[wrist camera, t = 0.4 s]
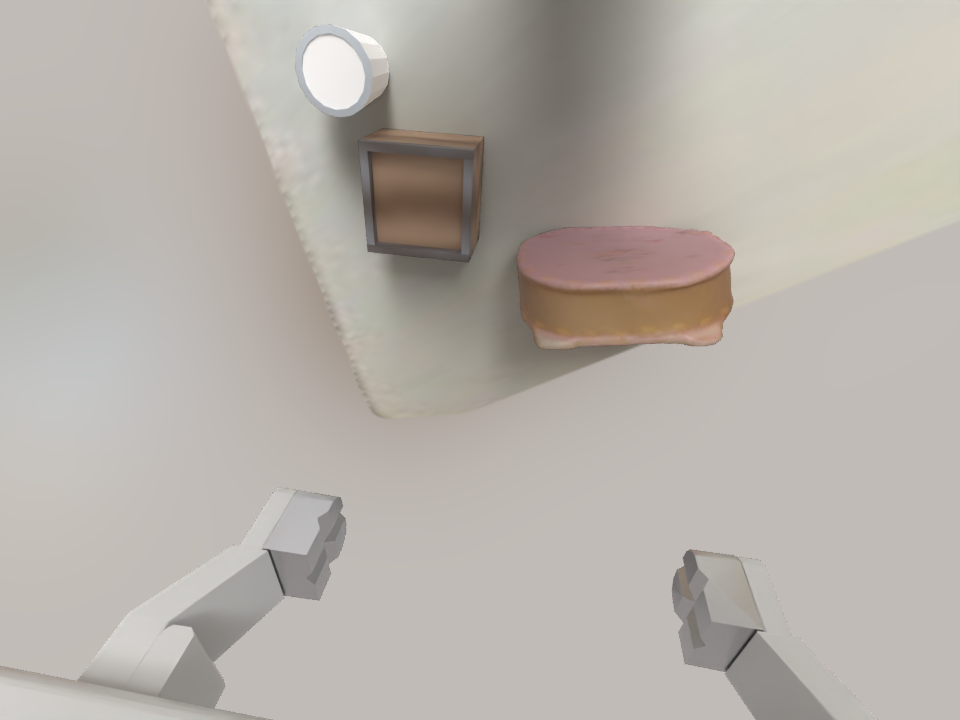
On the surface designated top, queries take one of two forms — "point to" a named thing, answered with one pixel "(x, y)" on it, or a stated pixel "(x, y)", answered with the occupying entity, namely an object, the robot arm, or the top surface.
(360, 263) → the top surface
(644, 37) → the top surface
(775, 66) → the top surface
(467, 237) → the wooden box
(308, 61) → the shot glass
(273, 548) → the robot arm
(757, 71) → the top surface
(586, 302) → the face sculpture
